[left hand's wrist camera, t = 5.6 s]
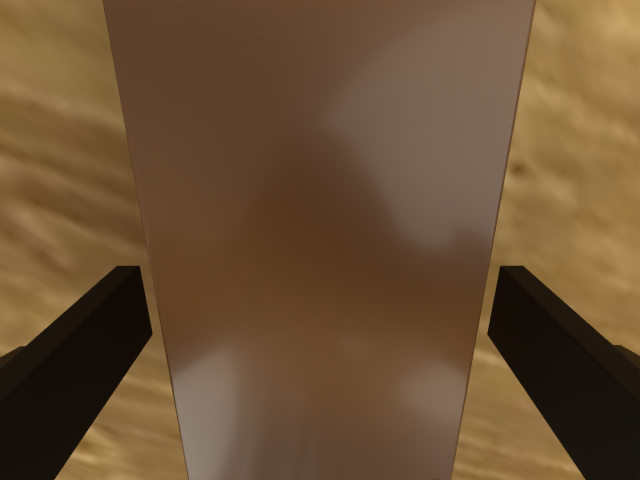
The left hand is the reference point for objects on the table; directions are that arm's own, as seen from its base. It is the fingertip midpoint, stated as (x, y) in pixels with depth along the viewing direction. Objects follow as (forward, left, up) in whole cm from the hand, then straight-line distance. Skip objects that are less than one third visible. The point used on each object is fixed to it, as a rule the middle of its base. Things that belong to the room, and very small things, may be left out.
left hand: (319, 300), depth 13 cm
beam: (+29, 0, -2) cm, 29 cm away
